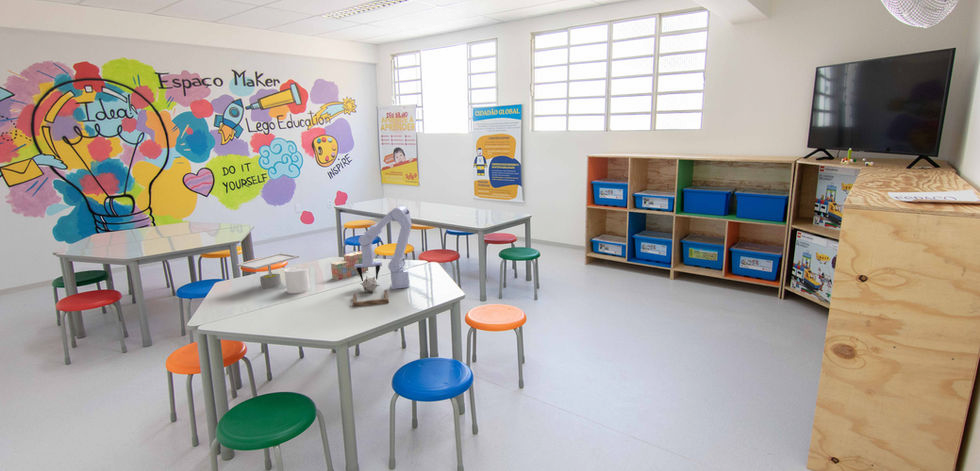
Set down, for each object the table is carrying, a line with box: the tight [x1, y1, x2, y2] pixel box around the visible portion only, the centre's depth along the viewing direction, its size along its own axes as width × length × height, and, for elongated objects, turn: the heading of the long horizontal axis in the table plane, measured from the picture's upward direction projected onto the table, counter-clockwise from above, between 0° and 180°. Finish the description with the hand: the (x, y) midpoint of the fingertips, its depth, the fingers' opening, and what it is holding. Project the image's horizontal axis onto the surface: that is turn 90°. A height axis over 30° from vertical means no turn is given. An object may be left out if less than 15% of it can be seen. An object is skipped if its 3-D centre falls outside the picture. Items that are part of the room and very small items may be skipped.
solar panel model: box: [236, 252, 300, 289], centre depth 280 cm, size 28×17×15 cm, turn 148°
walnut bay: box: [352, 289, 390, 308], centre depth 250 cm, size 17×14×2 cm
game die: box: [361, 276, 380, 294], centre depth 263 cm, size 9×8×10 cm
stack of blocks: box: [330, 250, 369, 280], centre depth 297 cm, size 21×6×12 cm, turn 141°
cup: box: [283, 265, 311, 295], centre depth 270 cm, size 12×12×12 cm
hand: (369, 279), depth 274 cm, fingers open, 7 cm apart
